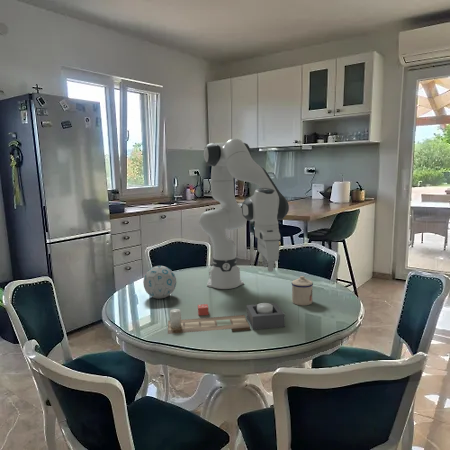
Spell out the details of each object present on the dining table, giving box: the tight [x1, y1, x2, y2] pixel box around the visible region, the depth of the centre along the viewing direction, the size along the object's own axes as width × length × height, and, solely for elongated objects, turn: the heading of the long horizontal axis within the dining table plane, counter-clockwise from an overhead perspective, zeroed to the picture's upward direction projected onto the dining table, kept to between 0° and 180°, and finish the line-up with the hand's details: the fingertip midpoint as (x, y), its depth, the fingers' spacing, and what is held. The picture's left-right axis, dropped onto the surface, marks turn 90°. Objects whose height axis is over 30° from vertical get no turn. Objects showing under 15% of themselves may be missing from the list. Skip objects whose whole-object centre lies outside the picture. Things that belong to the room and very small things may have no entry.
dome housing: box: [246, 302, 285, 331], centre depth 146 cm, size 12×12×5 cm
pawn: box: [169, 308, 182, 329], centre depth 142 cm, size 4×4×6 cm
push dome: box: [257, 302, 273, 314], centre depth 146 cm, size 6×6×3 cm
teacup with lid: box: [291, 275, 314, 306], centre depth 167 cm, size 12×9×12 cm
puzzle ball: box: [143, 265, 177, 300], centre depth 177 cm, size 15×15×15 cm
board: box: [167, 314, 251, 335], centre depth 144 cm, size 12×30×1 cm, turn 97°
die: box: [197, 303, 210, 316], centre depth 154 cm, size 4×4×4 cm
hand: (267, 268), depth 144 cm, fingers open, 8 cm apart
